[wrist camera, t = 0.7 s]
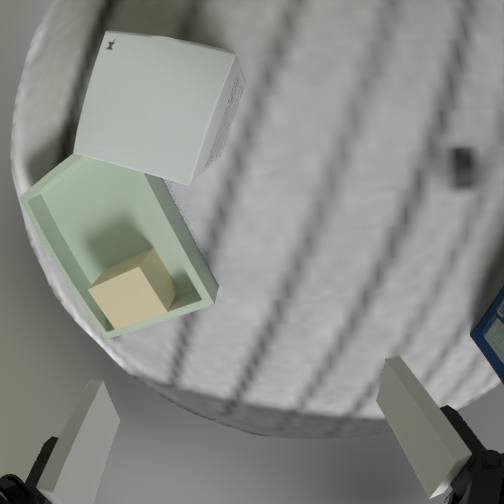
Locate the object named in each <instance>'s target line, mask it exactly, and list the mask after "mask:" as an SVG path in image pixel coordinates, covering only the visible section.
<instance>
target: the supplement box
mask: <svg viewBox="0 0 504 504" xmlns="http://www.w3.org/2000/svg"><path fill="white" fill-rule="evenodd" d="M244 86H245V80H244V77H243V75H242V72H241V69H240V67H239V64H238V61H237V58H236V54H235V53H234V52H233V51H229V50H226V49H222V48H217V47H213V46H209V45H204V44H200V43H195V42H190V41H185V40H180V39H175V38H171V37H166V36H155V35H148V34H140V33H132V32H123V31H106V32H105V35H104V38H103V41H102V44H101V47H100V50H99V53H98V56H97V59H96V62H95V65H94V69H93V72H92V75H91V79H90V82H89V86H88V89H87V93H86V97H85V101H84V104H83V108H82V112H81V116H80V120H79V124H78V128H77V133H76V139H75V145H74V151H73V152H74V153H75V154H78V155H82V156H85V157H89V158H93V159H97V160H100V161H104V162H108V163H111V164H115V165H118V166H122V167H126V168H129V169H133V170H136V171H140V172H143V173H147V174H150V175H154V176H157V177H160V178H164V179H167V180H171V181H174V182H178V183H181V184H185V185H188V186H189V185H191V184H192V183H193V182H194V181H195V180H196V179H197V178H198V177H199V176H200V175H201V174H202V173H203V172H204V171H205V170H206V169H207V168H208V167H209V166H210V165H211V164H212V163H213V162H214V161H216V160H217V159H218V158H219V157H220V156H221V154H222V151H223V148H224V145H225V142H226V138H227V135H228V132H229V129H230V126H231V123H232V120H233V117H234V114H235V112H236V109H237V106H238V103H239V100H240V97H241V94H242V92H243V89H244Z"/></svg>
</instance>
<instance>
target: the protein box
mask: <svg viewBox="0 0 504 504" xmlns="http://www.w3.org/2000/svg"><path fill="white" fill-rule="evenodd" d="M470 336H471V338H472V339H473V341H474V342H475V343H476V345H477V346H478V347H479V349H480V350H481V352H482V353H483V354H484V356H485V357H486V359H487V360H488V362H489V363H490V365H491V366H492V368H493V369H494V371H495V372H496V374H497V375H498V377H499V378H500V380H501V381H502V383H503V384H504V286H503V288H502V290H501V291H500V293H499V294H498V296H497V297H496V299H495V300H494V302H493V303H492V305H491V306H490V308H489V309H488V311H487V312H486V314H485V315H484V316H483V318H482V319H481V321H480V322H479V323H478V325H477V326H476V327H475V329H474V330H473V331H472V333H471V334H470Z"/></svg>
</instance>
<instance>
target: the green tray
mask: <svg viewBox="0 0 504 504" xmlns="http://www.w3.org/2000/svg"><path fill="white" fill-rule="evenodd" d="M20 199H21V201H22V203H23V205H24V207H25V209H26V211H27V213H28V215H29V217H30V219H31V221H32V223H33V225H34V227H35V229H36V231H37V233H38V235H39V237H40V238H41V240H42V242H43V244H44V246H45V247H46V249H47V251H48V253H49V255H50V256H51V258H52V260H53V261H54V263H55V265H56V266H57V268H58V270H59V271H60V273H61V275H62V276H63V278H64V279H65V281H66V283H67V284H68V286H69V287H70V289H71V290H72V292H73V294H74V295H75V297H76V298H77V300H78V301H79V303H80V304H81V305H82V307H83V308H84V310H85V311H86V313H87V314H88V316H89V317H90V318H91V320H92V321H93V323H94V324H95V325H96V327H97V328H98V329H99V331H100V332H101V333H102V335H103V336H104V337H105V339H109V338H112V337H115V336H119V335H122V334H125V333H128V332H131V331H135V330H138V329H141V328H144V327H147V326H150V325H153V324H156V323H160V322H163V321H166V320H169V319H172V318H175V317H178V316H181V315H184V314H187V313H190V312H193V311H196V310H199V309H202V308H205V307H208V306H211V305H213V304H215V300H216V296H217V292H218V288H219V286H218V284H217V282H216V280H215V278H214V276H213V275H212V273H211V271H210V269H209V267H208V265H207V264H206V262H205V260H204V258H203V256H202V254H201V252H200V251H199V249H198V247H197V245H196V243H195V241H194V239H193V237H192V235H191V234H190V232H189V230H188V228H187V226H186V224H185V222H184V220H183V218H182V216H181V214H180V212H179V210H178V209H177V207H176V205H175V203H174V201H173V199H172V197H171V195H170V193H169V191H168V189H167V187H166V185H165V183H164V181H163V179H162V178H160V177H157V176H154V175H150V174H147V173H143V172H140V171H136V170H133V169H129V168H126V167H122V166H118V165H115V164H111V163H108V162H104V161H100V160H97V159H93V158H89V157H85V156H82V155H78V154H75V153H73V154H72V155H70V156H69V157H68V158H66V159H65V160H64V161H63V162H61V163H60V164H59V165H57V166H56V167H55V168H54V169H52V170H51V171H50V172H49V173H48V174H46V175H45V176H44V177H43V178H41V179H40V180H39V181H38V182H37V183H36V184H34V185H33V186H32V187H31V188H30V189H29V190H28V191H26V192H25V193H24V194H23V195H22V196H21V197H20ZM153 247H154V248H155V250H156V252H157V254H158V255H159V257H160V259H161V261H162V262H163V264H164V266H165V268H166V269H167V271H168V273H169V274H170V276H171V278H172V279H173V281H174V283H175V284H176V286H177V288H178V290H177V292H176V295H175V297H174V299H173V301H172V304H171V306H170V308H169V310H168V312H166V313H163V314H161V315H158V316H155V317H152V318H149V319H146V320H143V321H140V322H137V323H134V324H131V325H128V326H125V327H122V328H118V329H115V328H114V327H113V326H112V324H111V323H110V321H109V320H108V319H107V317H106V316H105V314H104V313H103V312H102V310H101V309H100V307H99V306H98V304H97V303H96V301H95V300H94V298H93V297H92V295H91V294H90V292H89V291H88V288H89V287H90V286H91V285H92V284H93V283H94V282H95V281H96V279H97V278H98V277H99V276H100V275H101V274H102V273H103V272H104V270H106V269H108V268H110V267H112V266H114V265H116V264H118V263H121V262H123V261H125V260H127V259H129V258H131V257H133V256H136V255H138V254H140V253H142V252H144V251H147V250H149V249H151V248H153Z"/></svg>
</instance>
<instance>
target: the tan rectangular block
mask: <svg viewBox="0 0 504 504" xmlns="http://www.w3.org/2000/svg"><path fill="white" fill-rule="evenodd" d="M177 290H178V288H177V286H176V284H175V283H174V281H173V279H172V278H171V276H170V274H169V273H168V271H167V269H166V268H165V266H164V264H163V262H162V261H161V259H160V257H159V255H158V254H157V252H156V250H155V248H154V247H153V248H151V249H149V250H147V251H144V252H142V253H140V254H138V255H136V256H133V257H131V258H129V259H127V260H125V261H123V262H121V263H118V264H116V265H114V266H112V267H110V268H108V269H106V270H104V272H103V273H102V274H101V275H100V276H99V277H98V278H97V279H96V281H95V282H94V283H93V284H92V285H91V286H90V287H89V288H88V291H89V292H90V294H91V295H92V297H93V298H94V300H95V301H96V303H97V304H98V306H99V307H100V309H101V310H102V312H103V313H104V314H105V316H106V317H107V319H108V320H109V321H110V323H111V324H112V326H113V327H114V328H115V329H118V328H122V327H125V326H128V325H131V324H134V323H137V322H140V321H143V320H146V319H149V318H152V317H155V316H158V315H161V314H163V313H166V312H168V310H169V308H170V306H171V304H172V301H173V299H174V297H175V295H176V292H177Z"/></svg>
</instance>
